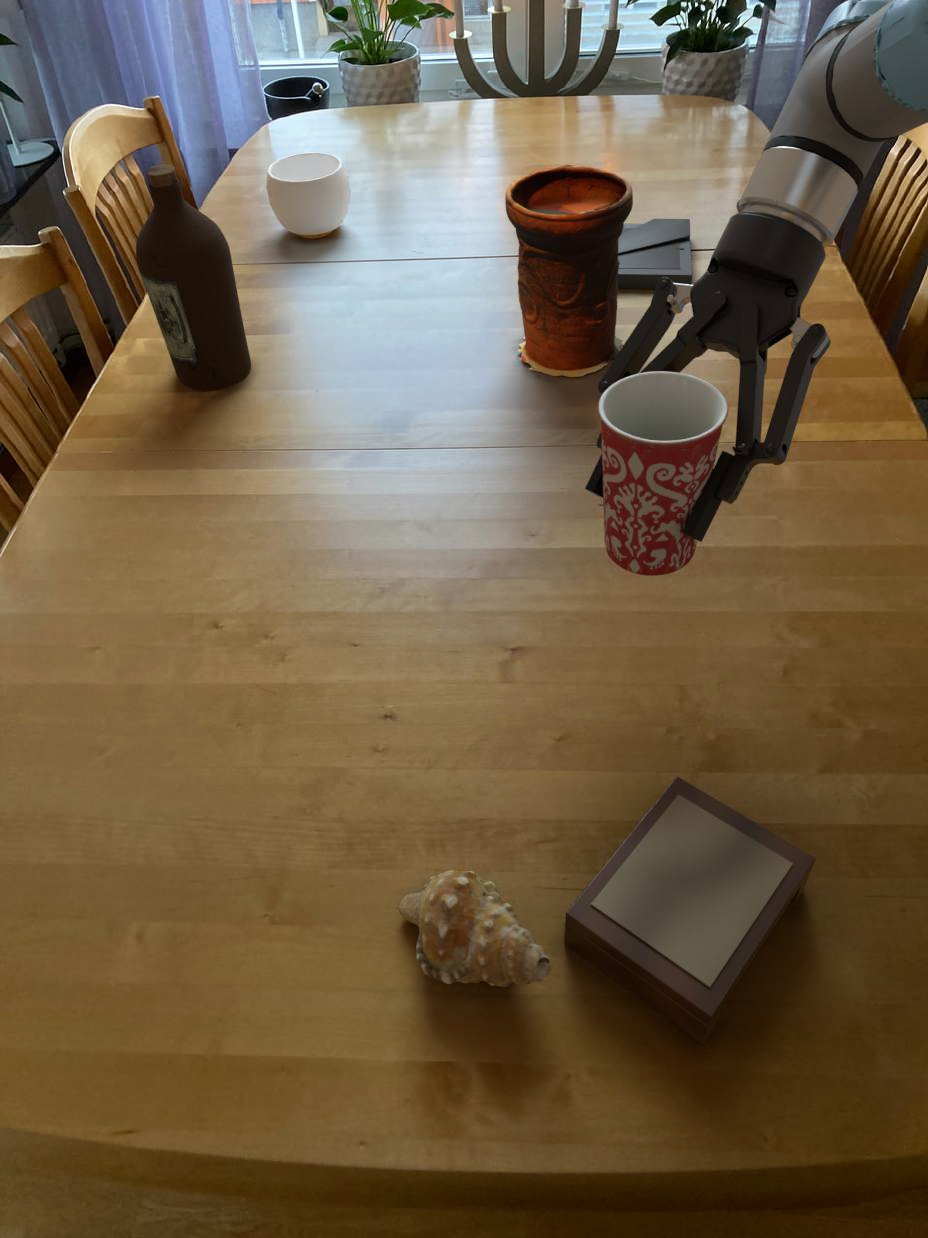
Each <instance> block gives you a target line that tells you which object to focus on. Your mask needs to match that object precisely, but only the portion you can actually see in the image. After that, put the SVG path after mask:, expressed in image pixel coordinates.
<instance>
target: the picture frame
mask: <svg viewBox="0 0 928 1238" xmlns="http://www.w3.org/2000/svg"><path fill="white" fill-rule="evenodd" d="M618 262H619V270H618V290H620V289H621V290H622V289H624V290H655V287H656V284H657V282H658V280H659V279H660V278H662V277H668V278H670V279H671V281H672V282H673V283H678V284H688V285H692V279H693V266H692V250H691V219H690V218H653V219H651V220H648V221H646V222H644V223H628V222H627V223H625V222H624V228H623V230H622V233H621V236H620V237H619V240H618Z"/></svg>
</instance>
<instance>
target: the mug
mask: <svg viewBox="0 0 928 1238" xmlns="http://www.w3.org/2000/svg"><path fill="white" fill-rule="evenodd" d="M726 398H727V397H725V395H724V393H723V392H722V391H721V390H720V389H719V388H717V387H716V386H715V384H712V383H710V382H708V381H706V380H704V379H703V378H700V377H698V376H694V375H692V374H686V373H684V372H683V373H682V372H680V373H677V372H664V371H654V372H645V373H640V372H639V373H638V374H635V375H631V376H628V377H626V378H623V379H621V380H619V381H617V382H615V383H614V384H612V385H611V386H610V387H609V388H608V389H606V390H605V392H604V393H603V394H601V396H600V397H599V400H598V403H597V411H598V412H597V413H598V417H599V419H600V428H601V429H600V433H601V436H602V447H601V449H600V450H601V454H602V467H603V498H602V499H603V501H602V503H603V530H604V531H603V532H604V533H603V534H604V547H605V551H606V553H607V555H608V557H609V559H610V560H611V561H612V562H614V564H616V566H618V567H619V568H621V569H623V570H625V571H627V572H630V573H633V574H635V575H641V576H646V577H647V576H650V577H653V576H654V577H655V576H665V575H670V574H672V573H673V574H674V572H677V571H679V570H681V569H683V568H684V567H685V566H687V565H688V564H689V563H690V561H691V560H692V558H693V557H694V555H695V554H696V553H695V552H696V549H697V546H698V542H699V541H698V540H696V539H693V538H692V537H690V536H688V535H686V534H684V533H683V532H682V531H683V529H684V527H685V525H686V523H687V521H688V519H689V517H690V515H691V513H692V511H693V509H694V507H695V505H696V503H697V501H698V499H699V497H700V495H701V493H702V491H703V489H704V487H705V485H706V483H707V481H708V479H709V477H710V475H711V473H712V471H713V469H714V467H715V464H716V463H715V462H716V458H717V453H718V448H719V445H720V444H719V442H720V439H721V438H720V437H721V433H722V430H723V426H724V424H725V422H726V421H727V418H728V415H729V410H730V409H729V403H728V400H727V399H726Z"/></svg>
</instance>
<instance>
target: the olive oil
mask: <svg viewBox="0 0 928 1238" xmlns="http://www.w3.org/2000/svg"><path fill="white" fill-rule="evenodd" d="M145 176H146V178H147V180H148V184H147V186H148V189H149V192H150V196H151V199H152V202H153V208H152V209H151V212H150V213H149V215H148V217H147V218H146V220H145V222H144V224H143V225H142V227H141V229H140V231H139V232H138V235H137V238H136V242H135V260H136V265H137V269H138V272H139V274H140V277H141V280H142V282H143V286H144V288H145V291H146V293H147V296H148V299H149V303H150V304H151V306H152V310H153V312H154V316H155V318H156V321H157V323H158V326H159V329H160V331H161V332H160V333H161V335H162V338H163V341H164V343H165V346H166V348H167V352H168V354H169V357H170V361H171V363H172V366H173V369H174V372H175V375H176V377H177V381H178V382H179V383H180V384H181V385H182V386H183V387H185V388H187V389H189V390H194V391H197V392H213V391H219V390H223V389H227V388H229V387H232V386H234V385H237V384H238V383H239V382H241V381H243V380H244V379H245V378H246V377H247V376H248V375H249V373H250V372H251V369H252V358H251V355H250V350H249V346H248V340H247V335H246V330H245V325H244V321H243V315H242V309H241V304H240V297H239V293H238V288H237V282H236V276H235V270H234V265H233V258H232V253H231V249H230V246H229V243H228V240H227V239H226V237H225V235H224V233H223V231H222V230H221V228H220V227H219V225H218V224H217V223H216V222H215V221H214V220H213V219H211V218H210V217H209V216H207V215H206V214H204V212H201V211H200V210H198V209H197V208H195V207H194V206H193V205H191V204H190V203H188V202H187V201H186V200H185V199H184V194H183V189H182V186H181V181H180V179H179V178H178V176H177V169H176V167H175V166H174V165H172V164H168V163H167V164H166V163H160V164H155V165H153V166H150V167H148V168H147V169H146V171H145Z"/></svg>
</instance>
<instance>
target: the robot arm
mask: <svg viewBox="0 0 928 1238" xmlns="http://www.w3.org/2000/svg"><path fill="white" fill-rule="evenodd" d="M804 57H805V58H804V59H803V61H802V66H801V69H800V71H799V73H798V75H797V77H796V79H795V81H794V83H793V86H792V88H791V90H790V92H789V94H788V96H787V99H786V101H785V103H784V105H783V107H782V109H781V112H780V113H779V116H777V117H778V118H777V120H776V122H775V124H774V126H773V128H772V130H771V132H770V135H769V137H768V138H767V141H766V143H765V145H764V148H763V150H762V151H761V154H760V156H759V158H758V160H757V162H756V164H755V165H754V168H753V170H752V172H751V174H750V177H749V178H748V180H747V181H746V184H745V186H744V188H743V189H742V192H741V193H740V195H739V198H738V200H737V201H736V209H737V213H735V214H733V215H731V217H729V220H728V222H727V224H726V226H725V228H724V230H723V232H722V234H721V237H720V238H719V240H718V243H717V244H716V247H715V249H714V251H713V253H712V255H711V258H710V260H709V264H708V267H707V269H706V270H705V272H704V273H703V275H702V276H700V277H699V278H698V279H697V280H696V281H695V282H694V283H693V284H691V285H688V284H678V283H673V282H672V281H671V279H670V278H668V277H662V278H660V279H659V280H658V282H657V284H656V287H655V289H654V292H653V294H652V298H651V301H650V305H648V308H647V309H646V311H644V314H643V315H642V316H641V318H640V319H639V321H638V323H637V324H636V325H635V327H634V329H633V330H632V331H631V333H630V334H629V336H628V338H627V339H626V341H625V342H624V343H623V345H622V346H621V347H620V348H621V350H620V351H619V353H618V354H617V356H616V357H615V358H613V359H612V362H611V363H610V365H609V366H608V368H607V370H606V371H605V373H604V374H603V376H602V377H601V379H600V380H599V381H598V384H597V391H598V392H599V394H601V395H602V394H603V393H604V392H605V390H606V389H608V388H609V387H610V386H611V385H612V384H614V383H615V382H617V381H619V380H621V379H623V378H626V377H628V376H631V375H635V374H639V373H645V372H654V371H664V372H677V373H682V371H683V370H684V369H686V368H687V366H688V365H690V363H691V362H693V361H694V359H697V358H700V357H701V356H703V355H704V354H705V353H706V352H707V351H709V350H711V351H714V352H718V353H728V354H729V355H731V356H732V357H733V358H735V359H737V360H738V362H739V381H738V394H737V395H738V396H737V412H736V428H735V446H732V451H733V452H734V454H732V453H729V452H727V451H724V450H722V451H721V453H720V454H719V456H718V459H717V460H716V463H715V464H714V467H713V471H712V473H711V475H710V477H709V479H708V481H707V483H706V485H705V487H704V489H703V491H702V493H701V495H700V497H699V499H698V501H697V503H696V505H695V507H694V509H693V511H692V513H691V515H690V517H689V519H688V521H687V523H686V525H685V527H684V529H683V531H682V532H683V533H684V534H686V535H688V536H690V537H692V538H693V539H696V540H698V541H697V542H700V543H702V542H703V540H704V538H705V536H706V534H707V532H708V530H709V528H710V526H711V524H712V522H713V520H714V518H715V516H716V514H717V512H718V510H719V508H720V506H721V505H722V502H724V503H727V504H728V505H732V504H734V502H736V501H737V500H738V497H739V495H740V494H741V491H742V490H743V488H744V486H745V483H746V482H747V480H748V478H749V476H750V474H751V471H752V470H753V469H754V467H756V466H758V465H762V464H766V465H767V464H768V465H769V464H771V465H774V466H780V465H782V464H784V463H785V461H786V460H787V457H788V453H789V450H790V447H791V444H792V441H793V438H794V435H795V431H796V428H797V426H798V425H797V424H798V421H799V418H800V415H801V411H802V408H803V405H804V403H805V399H806V395H807V392H808V389H809V387H810V383H811V381H812V377H813V373H814V370H815V367H816V366H817V364H818V363H819V362H820V360H821V359H822V357H823V356H824V355H825V353H826V352H827V350H828V349H829V348H830V346H831V343H832V340H831V338H830V336H829V333H828V331H827V329H826V328H825V326H824V325H823V324H822V323H818V322H817V323H813V324H812V323H810V322H808V321H807V320H804V318H803V319H802V318H801V309H802V305H803V303H804V301H805V299H806V298H807V296H808V294H809V292H810V290H811V288H812V286H813V284H814V282H815V280H816V278H817V275H818V274H819V272H820V270H821V268H822V266H823V264H824V261H825V260H826V252H825V248H828V247H830V246H831V245H832V244H833V243H834V241H835V238H836V237H837V235H838V233H839V231H840V228H841V227H842V224H843V223H844V221H845V219H846V217H847V215H848V213H849V211H850V209H851V207H852V205H853V203H854V201H855V199H856V197H857V195H858V193H859V191H860V189H861V187H862V185H863V182H864V180H865V178H866V177H867V174H868V172H869V171H870V169H871V167H872V165H873V163H874V161H875V159H876V157H877V155H878V153H879V151H880V149H881V148H882V146H883V145H884V143H885V142H887V141H890V140H894V139H896V138H898V137H900V136H902V135H904V134H906V133H908V132H910V131H912V130H915V129H916V128H919V127H921V126H923V125H925V124H928V0H846V1H844V2H842V3H841V4H839V5H837V6H836V7H835V8H834V9H833V11H831V12H830V14H829V15H828V17H827V18H826V19H825V22H824V24H823V26H822V28H821V30H820V31H819V33H818V35H817V37H816V39H815V40H814V41H812V43H811V44H810V45H809V47H808V49H807V51H806V53H805V55H804ZM689 303H690V304H691V311H692V316H691V317H690V318H689V319H688V321H686V323H684V324H683V325H682V326H681V327H680V328H679V329H678V330H677V332H676V335H675V338H673V339H672V340H671V341H670V342H669V343H668V344H667V345H666V346H665V347H664V348H663V349H662V350H661V351H660V352H659V353H658V354H657V355H656V356H655V357H654V358H653V359H652V360H651V361H650V362H649V363H648V364H647V365H646V366H645V364H646V363H647V362H648V360H649V358H650V357H651V355H652V354H653V353H654V351H655V350H656V348H657V346H658V345H659V343H660V342H661V341H662V339H663V337H664V336H665V335H666V333H667V332H668V330H669V328H670V327H671V325H672V324H673V321H674V320H675V318H676V317H675V316H676V315H678V314H681V313H682V312H683V310H684V308H685V306H687V305H688V304H689ZM790 335H792V339H791V341H790V346H791V348H792V353H791V355H790V357H789V360H788V363H787V367H786V369H785V373H784V376H783V380H782V383H781V385H780V390H779V393H778V395H777V398H776V402H775V405H774V407H773V408H774V409H773V412H772V415H771V419H770V421H769V425H768V428H767V430H766V434H765V436H764V437H765V438H764V441H763V442H761V441H762V439H761V438H762V425H763V410H764V409H763V408H764V390H765V377H766V374H767V369H768V356H769V355H768V354H769V353H768V352H769V349H770V348H771V347H773V346H775V345H777V344H778V343H779V342H781V341H782V340H784V339H786V338H787V337H789V336H790ZM644 366H645V367H644ZM643 367H644V368H643ZM596 447H597V448H598V449H600V450H601V447H602V436H601V432H600V434H599V435H598V437H597V440H596ZM584 489H585V490H586V491H588V492H590V493H592V494H594V495H595V496H597V497H600V498H602V499H603V467H602V453H601V454H600V456H599V458H598V460H597V462H596V464H595V466H594V468H593V470H592V473H591V475H590V476H589V479H588V481H587V483H586V485H585V487H584Z"/></svg>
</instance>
